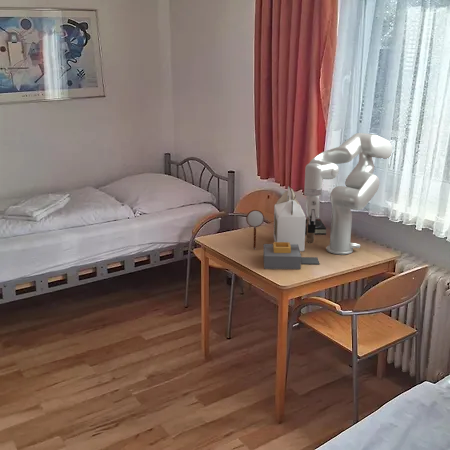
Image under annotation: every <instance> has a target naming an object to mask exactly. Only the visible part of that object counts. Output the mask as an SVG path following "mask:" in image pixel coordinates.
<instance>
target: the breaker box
mask: <svg viewBox="0 0 450 450" xmlns="http://www.w3.org/2000/svg"><path fill="white" fill-rule="evenodd" d="M262 253H263V256H262V258H263V266H264V267H263V268H264V269H263V270H265V269H266V270H302V269H301V268H302V267H301V265H302V264H301V257H302V254H301V251H300V250H299V246H298V244H290V242H275V241H273V243H263V252H262Z"/></svg>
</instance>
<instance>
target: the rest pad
mask: <svg viewBox="0 0 450 450" xmlns="http://www.w3.org/2000/svg"><path fill="white" fill-rule="evenodd" d="M301 265H319V266H320V265H321V263H320V261H319V258H318V257H317V256H316V257H315V256H311V257H310V256H301Z"/></svg>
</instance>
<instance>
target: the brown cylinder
mask: <svg viewBox="0 0 450 450" xmlns="http://www.w3.org/2000/svg"><path fill="white" fill-rule="evenodd" d="M310 217H312V216H310ZM306 219H307V234H306V235H305V242H306V243H307V244H314V243H315V235H314V233H308V224H309V218H308V217H307V216H306ZM310 220H311V219H310Z"/></svg>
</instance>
